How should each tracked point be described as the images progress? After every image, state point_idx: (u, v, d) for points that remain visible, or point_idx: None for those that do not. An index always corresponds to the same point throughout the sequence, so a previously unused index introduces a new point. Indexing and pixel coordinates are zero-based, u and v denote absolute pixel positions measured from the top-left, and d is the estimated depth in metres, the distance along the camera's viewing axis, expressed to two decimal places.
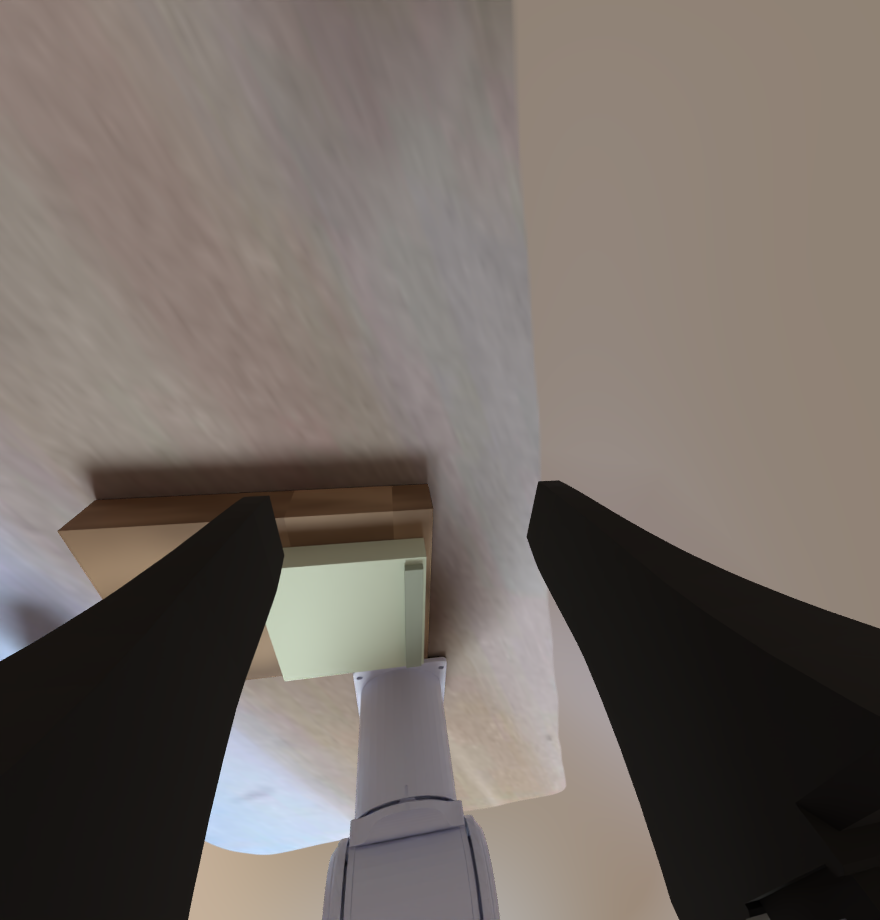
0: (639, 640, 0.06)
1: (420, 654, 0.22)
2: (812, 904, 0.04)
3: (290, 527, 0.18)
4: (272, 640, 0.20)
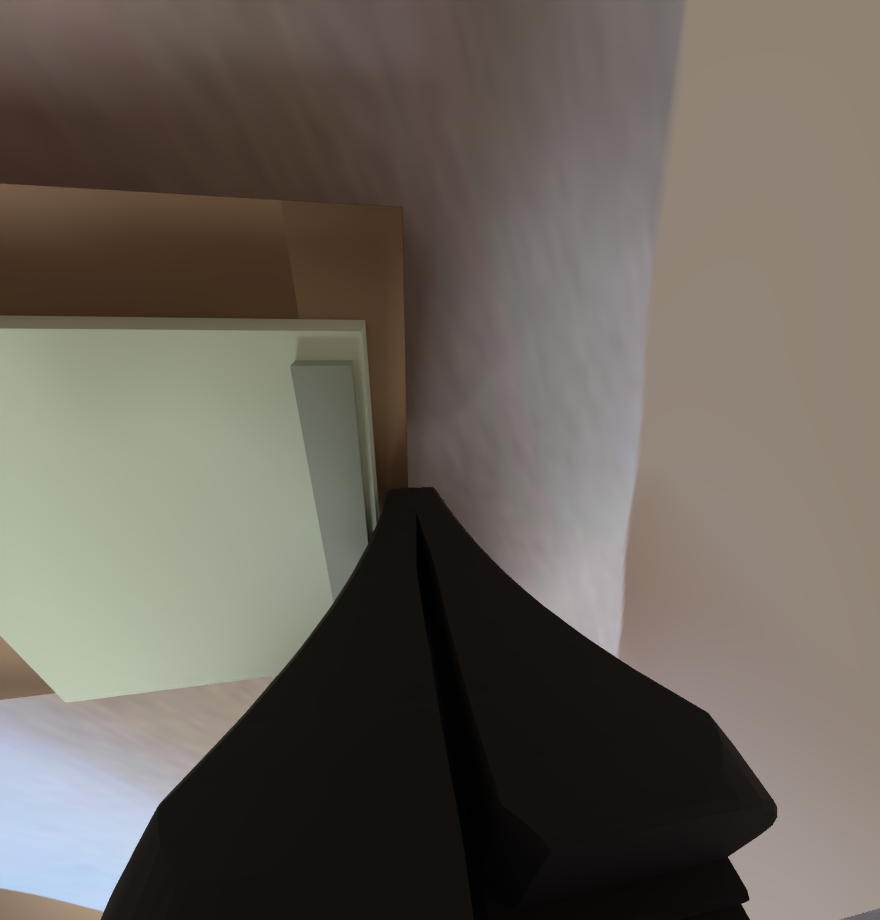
0: (441, 666, 0.06)
1: None
2: None
3: None
4: None
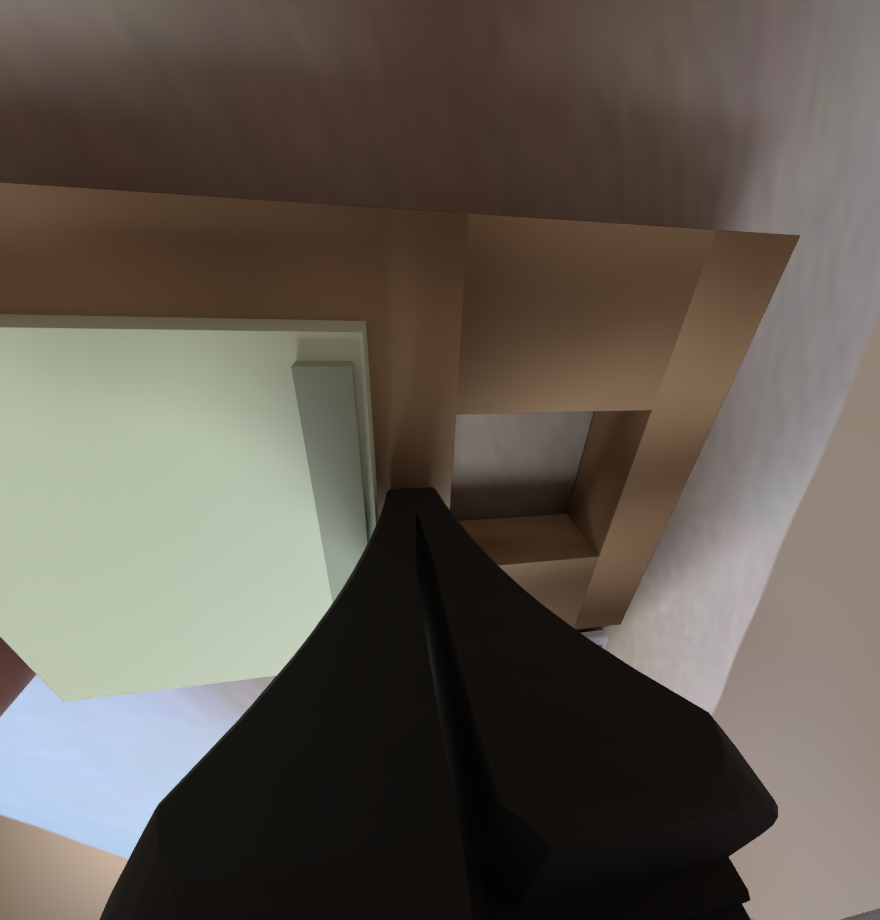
0: (441, 666, 0.06)
1: None
2: None
3: (475, 254, 0.07)
4: None
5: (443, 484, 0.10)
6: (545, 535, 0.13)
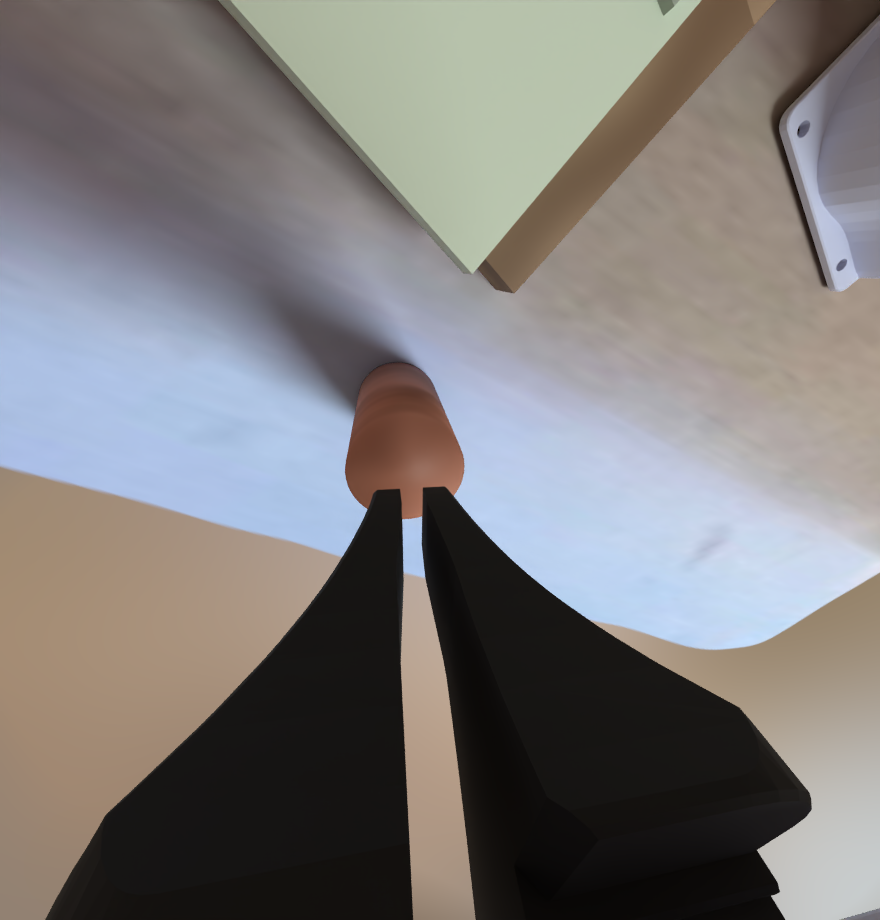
0: (461, 663, 0.06)
1: None
2: None
3: None
4: (370, 154, 0.10)
5: None
6: None
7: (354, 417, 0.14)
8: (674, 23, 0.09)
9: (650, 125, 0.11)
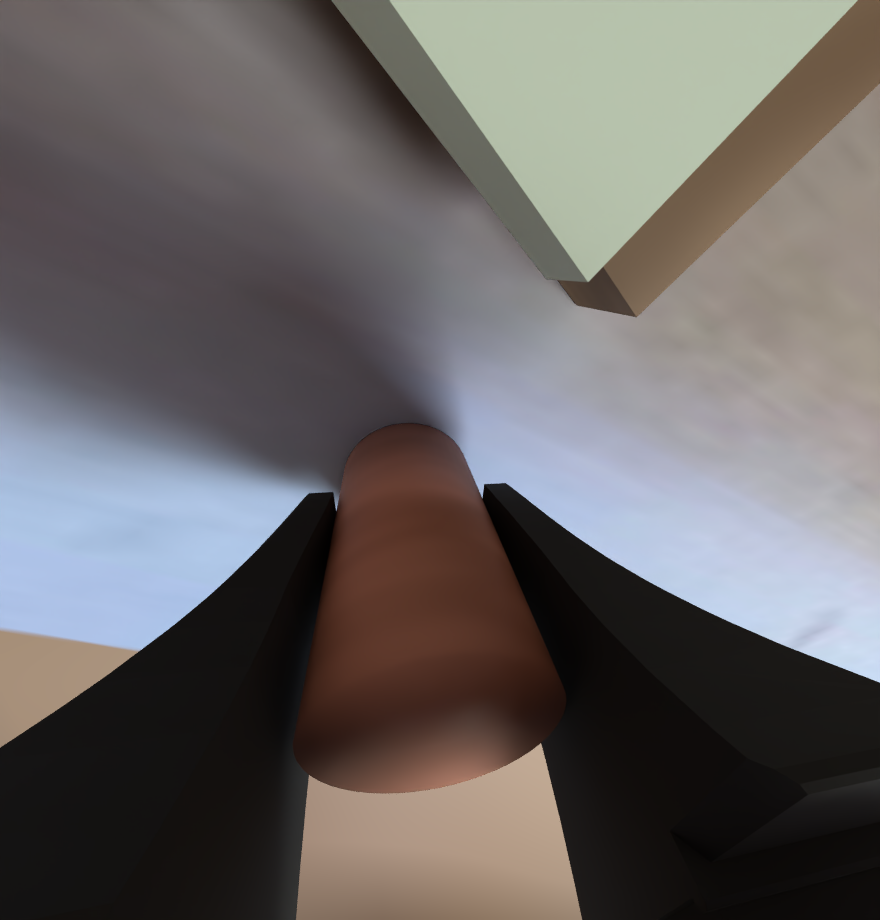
0: (557, 650, 0.06)
1: None
2: None
3: None
4: None
5: None
6: None
7: (329, 549, 0.07)
8: None
9: None
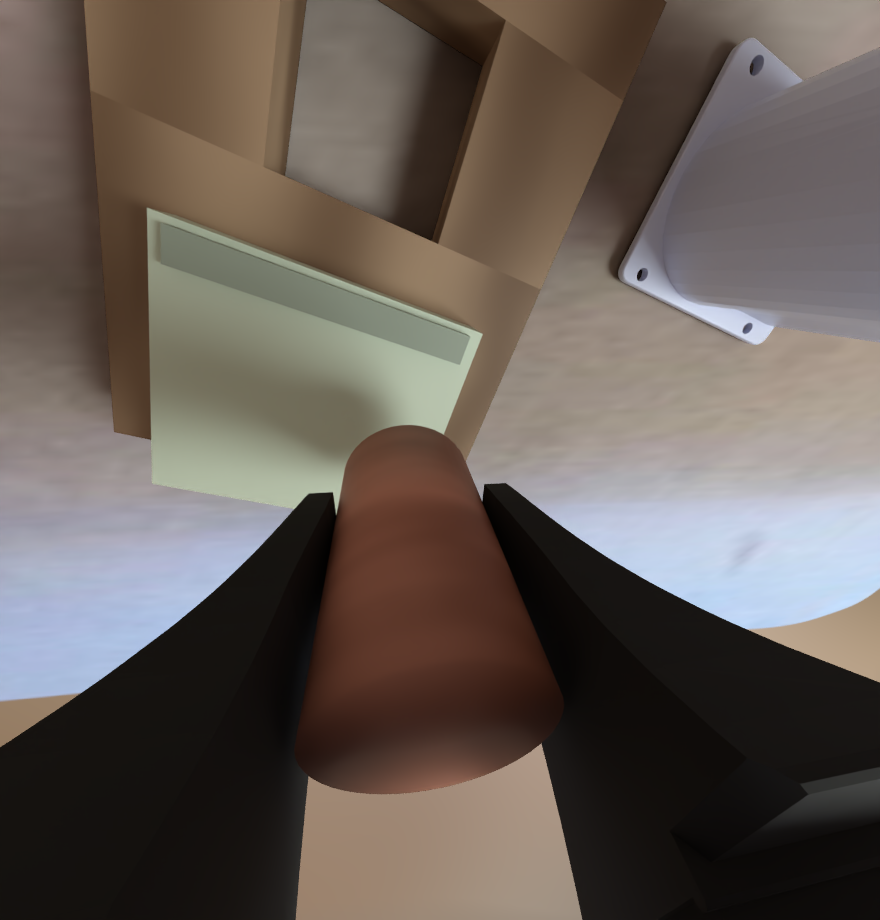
0: (557, 651, 0.06)
1: (433, 325, 0.11)
2: None
3: (120, 93, 0.09)
4: None
5: (335, 207, 0.11)
6: (474, 107, 0.11)
7: None
8: (467, 361, 0.12)
9: (493, 377, 0.14)
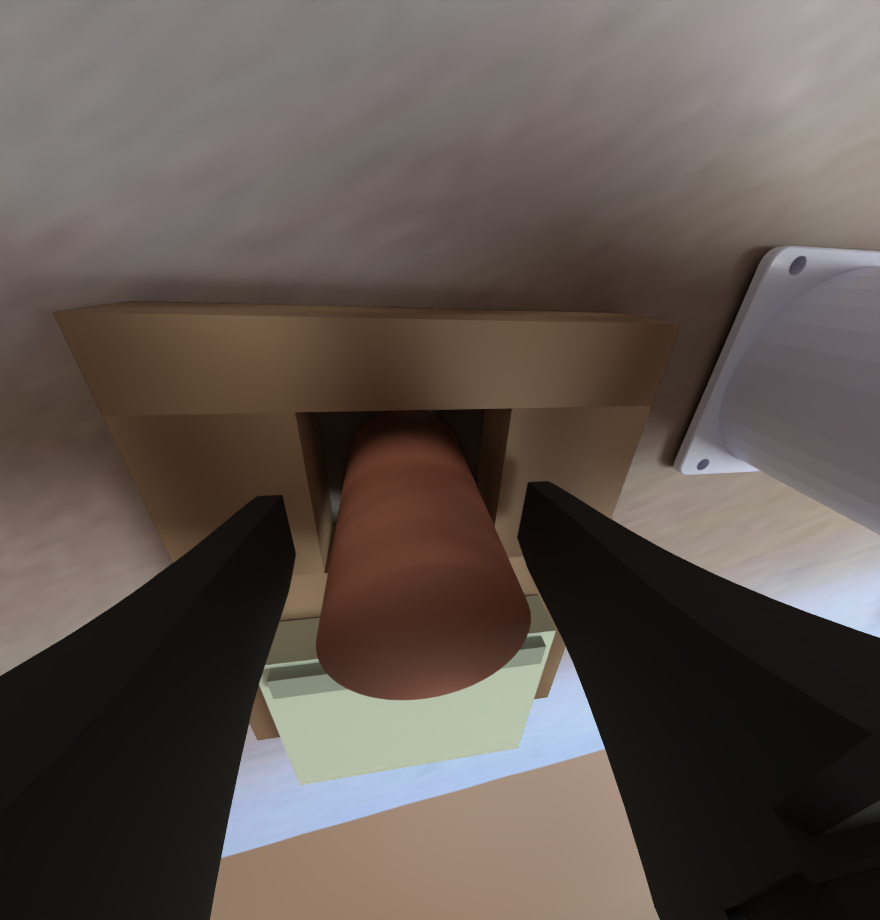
0: (623, 642, 0.06)
1: None
2: (789, 910, 0.04)
3: None
4: (429, 762, 0.16)
5: None
6: (492, 437, 0.11)
7: None
8: (546, 649, 0.12)
9: None
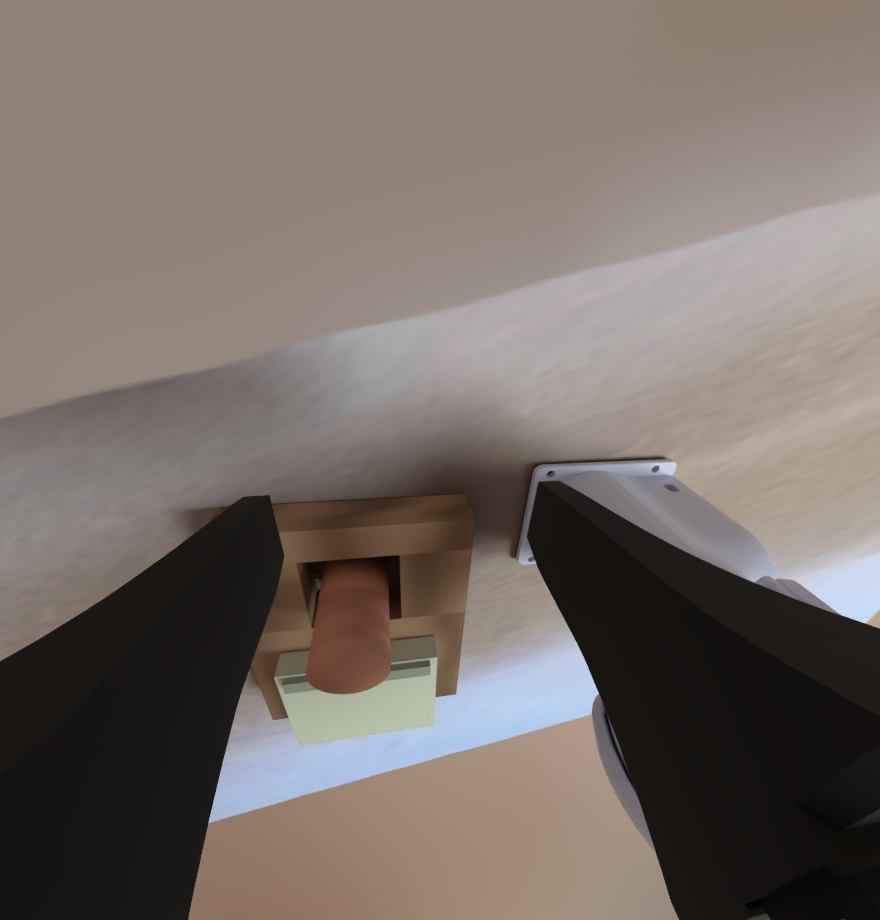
0: (639, 640, 0.06)
1: (410, 669, 0.22)
2: (812, 904, 0.04)
3: None
4: (377, 733, 0.26)
5: None
6: (399, 557, 0.21)
7: (317, 607, 0.19)
8: (434, 667, 0.23)
9: (456, 645, 0.24)
